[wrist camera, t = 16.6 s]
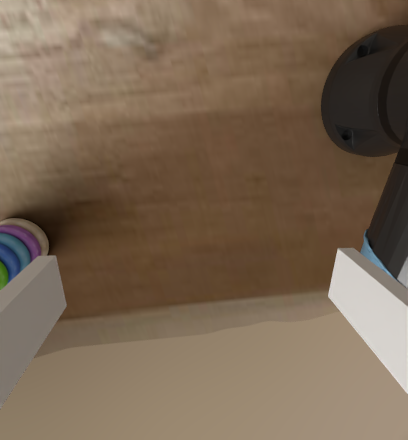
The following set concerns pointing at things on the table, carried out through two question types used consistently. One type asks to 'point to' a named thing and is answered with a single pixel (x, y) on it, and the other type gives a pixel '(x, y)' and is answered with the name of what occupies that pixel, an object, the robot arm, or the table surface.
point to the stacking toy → (19, 247)
